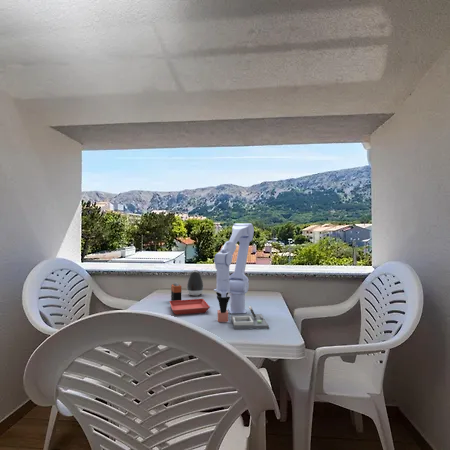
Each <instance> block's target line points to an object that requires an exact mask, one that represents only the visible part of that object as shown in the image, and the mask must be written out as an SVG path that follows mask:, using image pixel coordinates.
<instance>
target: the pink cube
mask: <svg viewBox="0 0 450 450" xmlns="http://www.w3.org/2000/svg"><path fill="white" fill-rule="evenodd" d="M216 319H217V322H218V323H222V322H224V323H225V322H226V323H227V322H229V309H226V313H221V311H220V309H217V317H216Z"/></svg>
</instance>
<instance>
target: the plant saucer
mask: <svg viewBox="0 0 450 450" xmlns="http://www.w3.org/2000/svg"><path fill="white" fill-rule="evenodd" d="M169 304H170V307H171V311H172V312H173V313H174V315H175V316H177V315H188V314H189V315H191V314H192V315H193V314H203V313H207V312H208V311H209V309H210V308H211V306H210V305H209V304H208V302H207V301H205V299H204V298H191V299H181V300H176V301H172V300H170V301H169Z"/></svg>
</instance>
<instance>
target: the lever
mask: <svg viewBox="0 0 450 450" xmlns="http://www.w3.org/2000/svg"><path fill="white" fill-rule="evenodd" d="M248 310H249V311H250V314H252V315H253V317H254V319H255V320H256V319H257V318H256V316H255V314H256V313H255V311H254V310H253V307H252V306H251V305H249V306H248Z"/></svg>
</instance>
